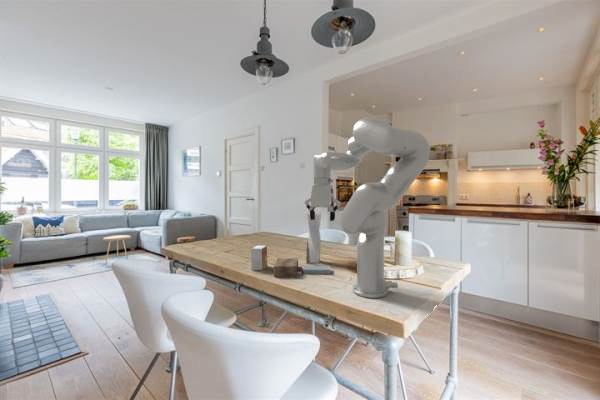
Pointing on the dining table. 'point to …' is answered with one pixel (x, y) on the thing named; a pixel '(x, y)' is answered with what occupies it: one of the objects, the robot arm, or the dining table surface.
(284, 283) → the dining table surface
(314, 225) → the skyscraper
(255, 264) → the small box
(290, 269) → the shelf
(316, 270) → the tile
